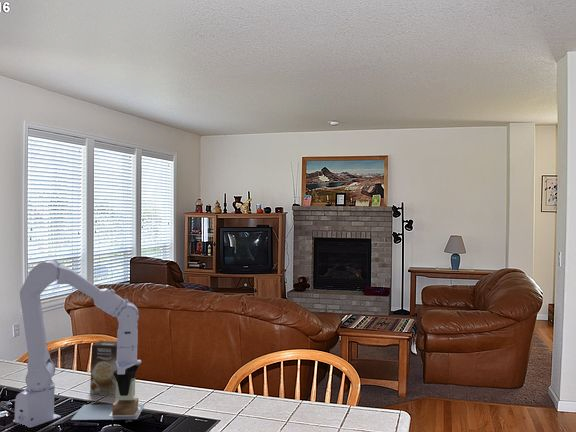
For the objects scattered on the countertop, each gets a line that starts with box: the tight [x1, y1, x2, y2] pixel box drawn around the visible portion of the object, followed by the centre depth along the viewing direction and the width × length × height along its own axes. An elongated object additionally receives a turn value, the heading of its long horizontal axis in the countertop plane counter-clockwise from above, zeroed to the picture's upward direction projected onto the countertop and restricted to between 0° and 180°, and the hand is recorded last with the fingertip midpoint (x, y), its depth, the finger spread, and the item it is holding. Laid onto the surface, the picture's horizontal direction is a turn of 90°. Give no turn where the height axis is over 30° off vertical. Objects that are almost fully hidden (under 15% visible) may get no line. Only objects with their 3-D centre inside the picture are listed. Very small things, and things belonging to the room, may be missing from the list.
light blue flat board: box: [70, 403, 146, 421], centre depth 151 cm, size 18×12×1 cm, turn 95°
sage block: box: [115, 377, 136, 401], centre depth 152 cm, size 4×4×5 cm
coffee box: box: [89, 340, 117, 396], centre depth 169 cm, size 9×6×16 cm
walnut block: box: [112, 397, 139, 415], centre depth 151 cm, size 6×6×3 cm
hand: (125, 392), depth 151 cm, fingers closed on sage block, 4 cm apart
